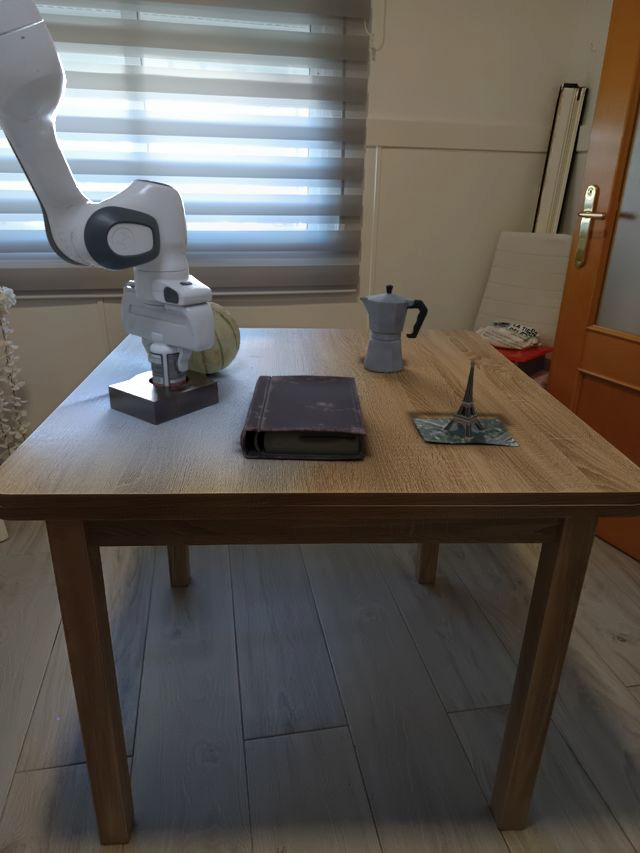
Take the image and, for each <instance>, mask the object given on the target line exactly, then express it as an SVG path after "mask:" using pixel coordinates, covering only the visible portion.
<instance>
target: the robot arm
mask: <svg viewBox="0 0 640 853" xmlns="http://www.w3.org/2000/svg"><path fill="white" fill-rule="evenodd" d="M44 21H45V20H44V18H43V16H42V14H41V13H40V10H39V8H38V6H37V4H36V2H35V0H0V127H1V129H2V131H3V134H4V136H5V138H6V140H7V142H8V144H9V146H10V148H11V150H12V152H13V154H14V156H15V158H16V160H17V162H18V164H19V166H20V168H21V170H22V172H23V173H24V176H25V177H26V180H27V181H28V184H29V185H30V187H31V189H32V191H33V193H34V196H35V197H36V199H37V201H38V203H39V206H40V209H41V213H42V218H43V223H44V231H45V235H46V238H47V242H48V244H49V246H50V247H51V249H52V250H53V252H54V253H55V255H56V256H58V257H59V258H60V259H61V260H63V261H65V263H68V264H71V265H74V266H80V267H81V266H82V267H90V268H91V267H92V268H96V269H100V270H101V269H102V270H106V271H111V272H112V271H114V272H115V271H122V270H127V269H131V268H133V280H128V281H127V283H125V284H124V286H123V288H122V291H123V292H122V293H123V294H122V297H121V302H120V318H121V319H120V321H121V327H122V329H123V331H124V333H125V334H128V335H132V336H135V337H140V338H141V344H142V346H143V347H144V349H145V352H146V353H147V362H148V363H150V364H151V356H150V346H151V345H152V344H153V343H154V340H153V339H152V334H151V332H155V333H159V334H162V335H163V343H166V344H169V345H173V346H177V352H178V353H180V354H179V358H178V360H175V361H174V364H175V370H177V371H181V372H183V371H187V370H188V360H189V358H190V356H191V353H192V351H196V352H198V351H203V350H207V349H210V348H211V347H212V345H213V344H214V339H215V332H214V317H213V311H212V308H211V306H210V305H209V304H208V303H207V302H212V300H213V291H212V289H211V288H210V287H208V286H207V285H206V284H204V283H202V282H201V281H199V280H198V279H197V278H195V277H194V276H193V275H191V274H190V266H189V262H188V260H187V254H186V252H187V251H186V249H187V244H188V229H187V227H188V226H187V218H186V210H185V205H184V200H183V198H182V195H181V193H180V191H179V190H178V188H176V187H174V186H173V185H172V184H169V183H166V182H161V181H157V180H151V179H143V178H136V179H133V180H131V181H130V183H129V184H128V186H126V187H125V188H123V189H122V190H120V191H119V192H117V193H115V194H114V195H112V196H110V197H107V198H105V199H103V200H101V201H100V202H98V201H97V202H95V201H94V202H93V201H92V200H91V199H89V198H88V197H87V196H86V195H85V194H84V193H83V191H81V189H80V187H79V185H78V183H77V181H76V179H75V176H74V175H73V172H72V170H71V168H70V166H69V163H68V161H67V159H66V156H65V155H64V153H63V150H62V148H61V146H60V143H59V141H58V138H57V137H58V136H57V134H56V123H55V122H56V117H57V113H58V110H59V107H60V106H61V104H62V102H63V99H64V96H65V93H66V88H67V87H66V85H67V78H66V74H65V69H64V65H63V63H62V60H61V57H60V54H59V51H58V48H57V46H56V43H55V41H54V39H53V37H52V35H51V32H50V31H49V28H48V26H47V24H46V22H44Z"/></svg>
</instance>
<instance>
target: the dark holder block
mask: <svg viewBox="0 0 640 853" xmlns="http://www.w3.org/2000/svg"><path fill="white" fill-rule="evenodd" d="M185 375H186V383H184V384H181V385H176V386H157V385H153V379H152V370H148V371H145V372H141V373H139V374H136V375H134V376H133V377H132V378H130V379H129V380H125V381H121V382H117V383H114V384H110V385H108V387H107V389H108V398H109V405H110V408H111V409H112V410H115V411H119V412H121V413H123V414H126V415H128V416H132V417H134V418H136V419H139V420H142V421H144V422H147V423H150V424H152V425H156V426H158V425H160V424H162V423H165V422H168V421H171V420H174V419H176V418H180V417H181V416H185V415H188V414H190V413H194V412H196V411H199V410H201V409H205V408H207V407H210V406H213V405H215V404H218V403H219V382H218V381H217V380H214V379H211V378H208V376H207V374H202V373H200V372H197V371H193V370H187V371H185Z"/></svg>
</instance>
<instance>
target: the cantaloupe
mask: <svg viewBox="0 0 640 853" xmlns="http://www.w3.org/2000/svg"><path fill="white" fill-rule="evenodd" d="M207 303H208V304H209V305H210V306H211V308H212V311H213V317H214V332H215V339H214V344H213V345H212V347H211V348H210V349H207V350H203V351H198V352H196V351H192V353H191V356H190V358H189V360H188V370H193V371H197V372H200V373H202V374H204V375H207V374H208V375H211V374H215V373H219V372H221V371H223V370H224V369H226V368H227V367H228V366H230V365H231V364H232V362H233V361H234V360H235V359H236V357H237V355H238V353H239V351H240V347H241V331H240V327H239V325H238V323H237V321H236V319H235V317H234V315H232V314H231V313H230V311H229V310H227V309H226V307H223V306H222V305H220V304H218V303H216V302H214V301H213V302H212V301H208V302H207Z"/></svg>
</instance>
